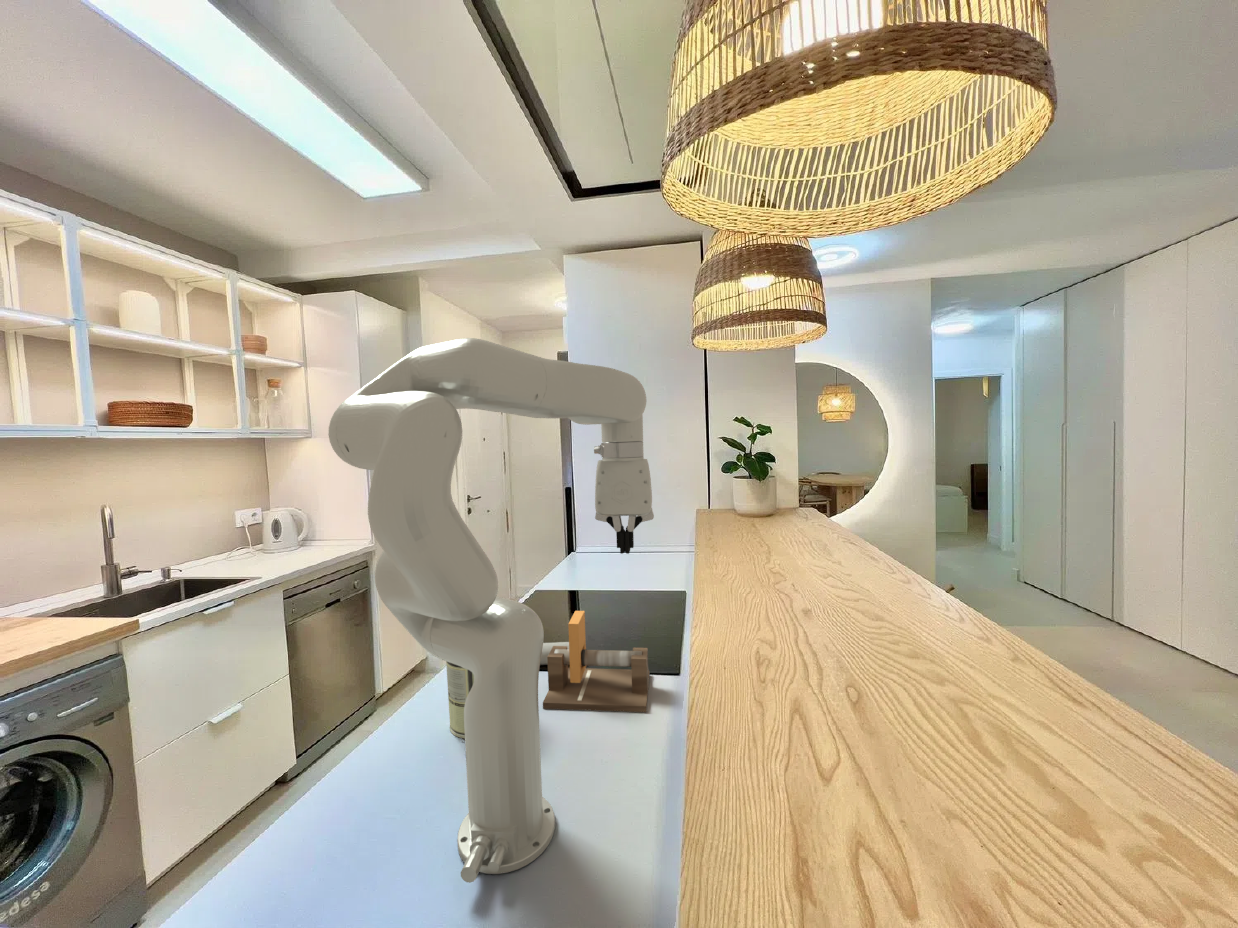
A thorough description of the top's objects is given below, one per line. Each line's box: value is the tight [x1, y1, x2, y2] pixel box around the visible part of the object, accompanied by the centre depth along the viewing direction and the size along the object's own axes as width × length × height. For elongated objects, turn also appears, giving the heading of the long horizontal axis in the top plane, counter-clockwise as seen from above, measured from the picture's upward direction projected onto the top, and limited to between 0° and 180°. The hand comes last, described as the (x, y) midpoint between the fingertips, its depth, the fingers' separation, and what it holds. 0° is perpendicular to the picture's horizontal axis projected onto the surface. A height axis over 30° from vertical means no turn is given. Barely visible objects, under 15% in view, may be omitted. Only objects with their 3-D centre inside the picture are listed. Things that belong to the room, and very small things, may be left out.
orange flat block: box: [567, 610, 587, 683], centre depth 99 cm, size 7×2×12 cm, turn 174°
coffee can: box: [445, 661, 474, 739], centre depth 89 cm, size 10×10×14 cm
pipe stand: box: [542, 646, 650, 713], centre depth 99 cm, size 14×20×9 cm
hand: (625, 551), depth 89 cm, fingers closed
